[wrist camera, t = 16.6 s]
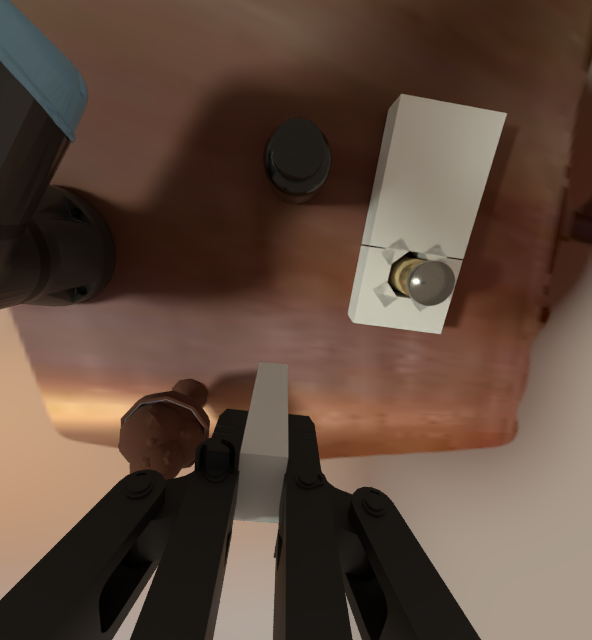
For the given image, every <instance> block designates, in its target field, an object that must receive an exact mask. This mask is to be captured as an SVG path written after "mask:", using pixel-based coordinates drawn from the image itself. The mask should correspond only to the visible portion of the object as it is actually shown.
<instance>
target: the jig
mask: <svg viewBox="0 0 592 640" xmlns="http://www.w3.org/2000/svg"><path fill="white" fill-rule="evenodd" d="M506 115H507V113H503V112H497V111H492V110H486V109H481V108H476V107H470V106H465V105H459V104H454V103H449V102H443V101H438V100H432V99H427V98H422V97H416V96H411V95H405V94H400V96H399V97H398V98H397V99H396V101H395V102H394V103H393V104H392V105H391V107H390V108H389V109H388V114H387V119H386V124H385V129H384V134H383V139H382V144H381V149H380V154H379V159H378V164H377V169H376V175H375V180H374V185H373V190H372V195H371V200H370V205H369V210H368V215H367V220H366V225H365V230H364V235H363V240H362V244H365V245H372V246H377V247H376V248H375V247H368V246H361V250H360V255H359V260H358V265H357V270H356V275H355V280H354V285H353V290H352V295H351V300H350V305H349V310H348V316H349V317H350V319H351V320H352V321H353V323H359V324H367V325H375V326H383V327H390V328H398V329H406V330H414V331H421V332H429V333H437V334H441V331H442V328H443V325H444V321H445V318H446V315H447V311H448V308H449V305H450V301H451V298H452V295H453V291H454V289H453V291H452V293H451V294H450V296H449V297H448V298H447V299H446V300H445V301H443V302H442V303H440V304H438V305H434V306H425V305H422V304H420V303H418V302H416V301H414V300H413V299H412V298H411V297H410V296H408V295H406V294H404V293H400V292H393V290H392V289H391V287H390V286H389V284H388V283H387V281H388V277H389V273H390V269H391V264H392V263H394V262H395V261H396V260H398V259H399V258H401V257H402V256H403V255H405V254H406V253H407V252H409V251H411V252H412V253H413V255H414V257H415V258H416V259H419V260H424V261H429V260H433V261H439V262H443V263H445V264H447V265H448V266H449V267H450V268H451V269H452V271H453V273H454V276H455V285H456V281H457V278H458V275H459V271H460V268H461V265H462V260H456V259H449V258H447V257H453V258H460V259H463V258H464V255H465V251H466V248H467V245H468V241H469V238H470V235H471V231H472V228H473V225H474V221H475V218H476V215H477V211H478V208H479V205H480V201H481V198H482V195H483V191H484V188H485V185H486V182H487V178H488V175H489V172H490V168H491V165H492V162H493V158H494V155H495V152H496V148H497V145H498V142H499V138H500V135H501V132H502V128H503V125H504V122H505V118H506ZM455 285H454V288H455Z"/></svg>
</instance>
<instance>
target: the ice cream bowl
mask: <svg viewBox="0 0 592 640" xmlns="http://www.w3.org/2000/svg"><path fill="white" fill-rule="evenodd" d="M206 401H207V391H206V389H205V388H204V387H203V385H202V384H201V383H200V382H197V381H195V380H192V379H186V380H180V381H179V382H178V383H177V384H176V385H175V386H174V387H173V388H172V391H169V392H162V393H156V394H151V395H147V396H144V397H143V398H141V399H140V400H138V401H137V402H136V403H135V404H134V405H133V406H132V407H131V408H130V410H129V411H128V412H127V413H126V414H125V415H124V416H123V417H122V418H121V429H120V442H119V445H118V447H119V451H120V452H121V454H122V455H123V456H124V457H125V459H126V460H127V461H128V462H129V463H130V474H131V473H134V472H136V471H140V470H146V469H148V470H156V471H157V472H159V473H161V474H162V475H163V477H164V479H165V480H168V479H173V478H175V477H176V476H177V475H178V473H179V471H180V470H181V469H182V468H188V467H191V466H192V465H193V464H194V463H195V451H196V448H197V447H198V445H199V444H200V443H201V442H203V441H204V440H206V439H209V427H210V420H209V417H208V415H207V414H206V413H205V411H204V410H203V408H202V407H201V406H202V405H203V404H204V403H206Z"/></svg>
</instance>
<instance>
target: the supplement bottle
mask: <svg viewBox="0 0 592 640" xmlns="http://www.w3.org/2000/svg"><path fill="white" fill-rule="evenodd" d="M263 162H264V168H265V172H266V175H267V177H268V180H269V182H270V185H271V187H272V189H273V191H274V192H275V194H276V195H277V196H278V197H279V198H280V199H282V200H283V201H285V202H287V203H290V204H302V203H305V202H308V201H310V200H311V199H312V198H314V197H315V196H316V194H317V193H318V192H319V190H320V189H321V187H322V185H323V184H324V182H325V180H326V178H327V176H328V174H329V171H330V167H331V149H330V146H329V143H328V141H327V139H326V137H325V135H324V134H323V133H322V131H321V130H320V129H319V128H317V126H316V124H313V123H312V121H308V120H307V119H303V118H294V119H289V120H288V121H285V122H284V123H283V124H281V125H280V126H278V127H277V128H276V129H275V130H274V131H273V132H272V133H271V135H270V136H269V138H268V140H267V142H266V145H265V148H264V155H263Z"/></svg>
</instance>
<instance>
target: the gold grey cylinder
mask: <svg viewBox="0 0 592 640" xmlns="http://www.w3.org/2000/svg"><path fill="white" fill-rule="evenodd" d="M387 283H388V284H389V286H391V287H393V288H395V289H397V290H398V291H400V292H402V293H404V294H406V295H408V296H410V297H411V298H412V299H413V300H414V301H416V302H418V303H420V304H422V305H425V306H434V305H438V304H440V303H442V302H443V301H445V300H446V299H447V298H448V297H449V296H450V294H451V293H452V291H453V289H454V285H455V276H454V273H453V271H452V269H451V268H450V267H449V266H448V265H447V264H445V263H443V262H439V261H433V260H429V261H424V260H419V259H414V258H409V257H404V256H402V257H401V258H399V259H398V260H396V261H395V262H394V263H392V264H391V269H390V273H389V277H388V281H387Z"/></svg>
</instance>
